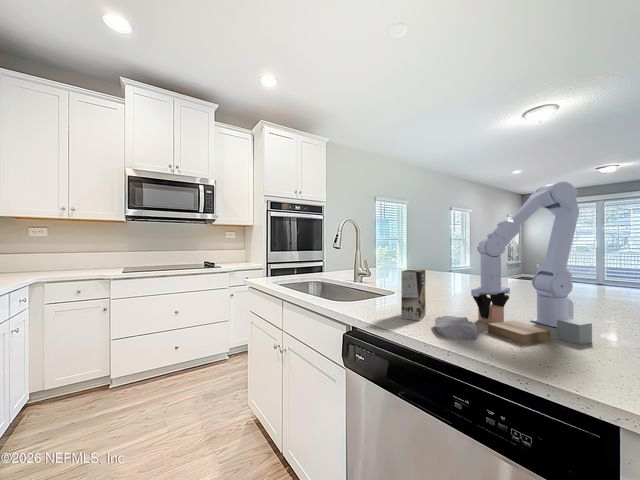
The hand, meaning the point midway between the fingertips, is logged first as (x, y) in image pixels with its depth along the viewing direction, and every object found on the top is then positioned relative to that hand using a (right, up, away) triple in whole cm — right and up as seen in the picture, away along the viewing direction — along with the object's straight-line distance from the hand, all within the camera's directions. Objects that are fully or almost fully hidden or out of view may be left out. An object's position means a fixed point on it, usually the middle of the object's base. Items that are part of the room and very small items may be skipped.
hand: (490, 317), depth 90 cm
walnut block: (-1, -2, -14) cm, 14 cm away
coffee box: (-23, -2, +6) cm, 24 cm away
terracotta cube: (0, -1, 0) cm, 1 cm away
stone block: (-17, -2, -10) cm, 20 cm away
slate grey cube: (+11, -1, -17) cm, 21 cm away
